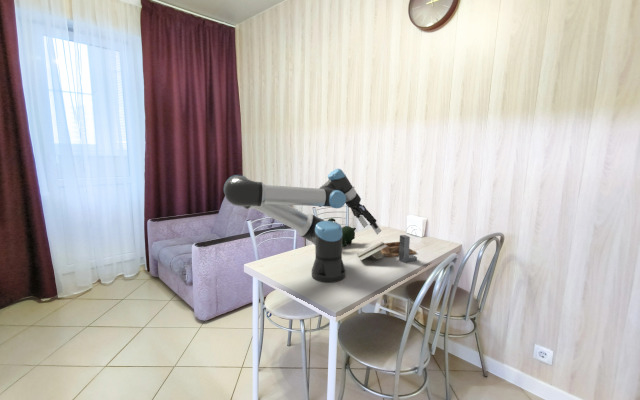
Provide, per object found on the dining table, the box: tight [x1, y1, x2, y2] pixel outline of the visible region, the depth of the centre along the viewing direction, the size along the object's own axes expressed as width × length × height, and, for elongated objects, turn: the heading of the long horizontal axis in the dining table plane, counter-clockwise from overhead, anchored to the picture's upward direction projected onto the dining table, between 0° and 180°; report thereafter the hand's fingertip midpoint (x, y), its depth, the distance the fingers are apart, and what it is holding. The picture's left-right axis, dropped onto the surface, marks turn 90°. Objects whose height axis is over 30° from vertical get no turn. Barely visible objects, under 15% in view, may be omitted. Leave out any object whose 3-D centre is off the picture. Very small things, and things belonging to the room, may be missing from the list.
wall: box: [356, 241, 387, 261], centre depth 152 cm, size 16×9×15 cm
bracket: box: [398, 234, 418, 264], centre depth 150 cm, size 8×4×13 cm, turn 109°
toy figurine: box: [327, 217, 357, 247], centre depth 173 cm, size 9×19×25 cm
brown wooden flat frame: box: [380, 241, 417, 259], centre depth 164 cm, size 18×14×4 cm
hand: (372, 229), depth 152 cm, fingers open, 13 cm apart
